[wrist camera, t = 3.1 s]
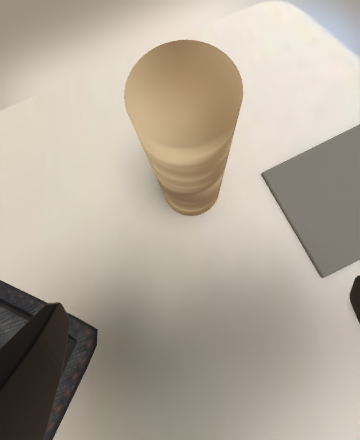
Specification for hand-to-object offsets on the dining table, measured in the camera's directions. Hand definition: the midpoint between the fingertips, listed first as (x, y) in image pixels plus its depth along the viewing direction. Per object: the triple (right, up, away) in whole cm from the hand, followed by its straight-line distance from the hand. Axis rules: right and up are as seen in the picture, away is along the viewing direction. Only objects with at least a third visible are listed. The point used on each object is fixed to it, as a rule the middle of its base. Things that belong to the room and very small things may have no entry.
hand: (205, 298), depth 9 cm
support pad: (+12, +4, +13) cm, 18 cm away
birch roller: (0, +5, +14) cm, 15 cm away
